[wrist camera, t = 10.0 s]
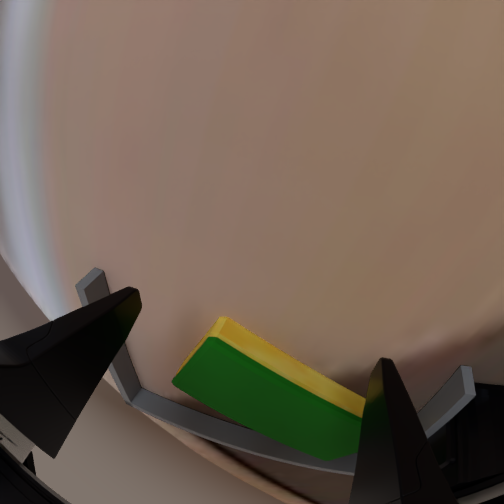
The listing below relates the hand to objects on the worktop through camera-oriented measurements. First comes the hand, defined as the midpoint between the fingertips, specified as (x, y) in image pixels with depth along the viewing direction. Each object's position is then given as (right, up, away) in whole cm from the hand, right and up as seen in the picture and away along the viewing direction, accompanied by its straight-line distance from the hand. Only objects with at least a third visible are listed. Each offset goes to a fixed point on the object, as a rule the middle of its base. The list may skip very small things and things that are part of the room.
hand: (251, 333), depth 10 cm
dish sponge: (+3, -6, +9) cm, 11 cm away
